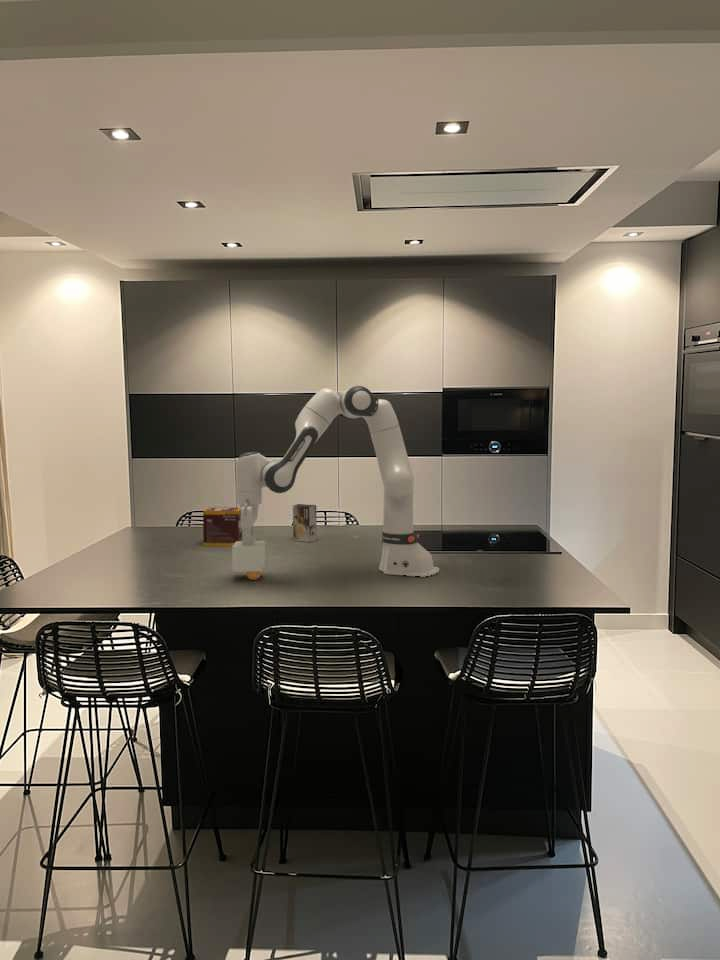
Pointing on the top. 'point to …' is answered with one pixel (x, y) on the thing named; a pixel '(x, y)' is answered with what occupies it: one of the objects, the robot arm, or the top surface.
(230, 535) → the supplement box
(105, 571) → the top surface
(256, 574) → the ball
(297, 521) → the coffee box
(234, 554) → the pale sage box
